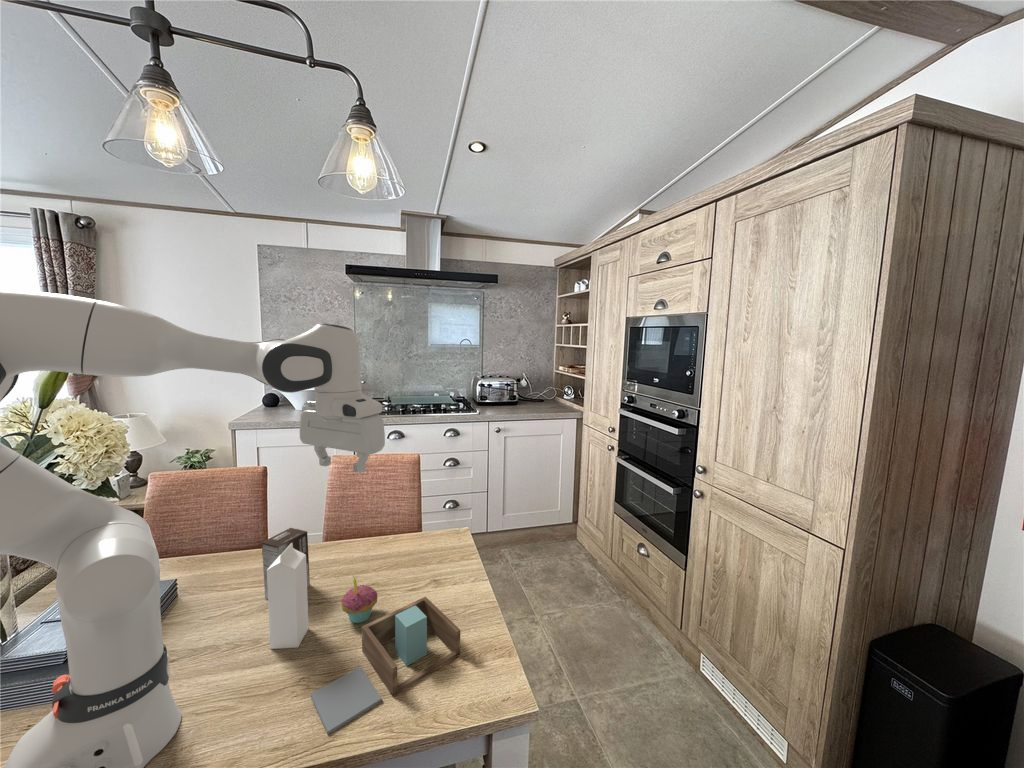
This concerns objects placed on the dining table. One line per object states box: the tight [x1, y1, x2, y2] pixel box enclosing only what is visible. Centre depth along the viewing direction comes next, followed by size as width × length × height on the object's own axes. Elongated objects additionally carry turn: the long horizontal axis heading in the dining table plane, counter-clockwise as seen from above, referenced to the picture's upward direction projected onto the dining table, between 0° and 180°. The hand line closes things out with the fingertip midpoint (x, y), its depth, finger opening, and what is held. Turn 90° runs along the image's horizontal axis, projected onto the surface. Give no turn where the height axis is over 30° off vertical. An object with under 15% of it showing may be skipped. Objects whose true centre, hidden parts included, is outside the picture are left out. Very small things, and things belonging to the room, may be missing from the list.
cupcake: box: [340, 575, 378, 624], centre depth 99 cm, size 9×8×12 cm
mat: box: [310, 666, 383, 735], centre depth 77 cm, size 10×10×1 cm
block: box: [394, 605, 428, 667], centre depth 88 cm, size 5×5×9 cm
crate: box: [361, 596, 461, 697], centre depth 89 cm, size 16×15×6 cm
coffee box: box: [261, 527, 311, 600], centre depth 108 cm, size 9×6×16 cm
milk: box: [267, 543, 310, 650], centre depth 91 cm, size 6×6×22 cm
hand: (342, 468), depth 84 cm, fingers open, 8 cm apart
